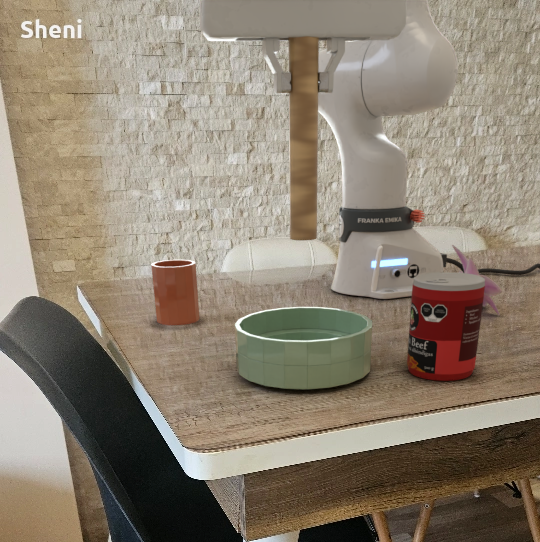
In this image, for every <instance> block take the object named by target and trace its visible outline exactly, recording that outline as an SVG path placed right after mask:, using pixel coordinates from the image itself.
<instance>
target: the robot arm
mask: <svg viewBox="0 0 540 542" xmlns="http://www.w3.org/2000/svg"><path fill="white" fill-rule="evenodd" d="M199 30H200V32H201V34H202V36H204V38H205V39H206V40H207V41H208V42H262V43H261V46H262V56H263V58H264V60H265V62H266V64H267V66H268V68H269V69H270V72H271V73H272V74H273V92H274V95H284V94H285V95H286V94H288V95H289V93H291V84H290V81H291V72H289V71H288V72H287V71H286V72H285V71H284V70H283V68H282V66H281V63H280V62H279V60H278V57H277V56H276V54H277V53H279V52H280V49H281V47H280V46H281V42H289V37H304V36H310V37H319V42H325V41H326V48H325V49H322V50H319V72H318V114H320V115H321V116H322V118H324V119H325V121H326V122H327V124H328V125H329V127H330V128H331V131H332V133H333V136H334V138H335V140H336V144H337V147H338V151H339V155H340V164H341V206H340V207H339V211H338V218H337V236H338V240H339V244H338V255H337V260H336V267H335V271H334V276H333V279H332V282H331V285H330V289H331V290H332V291H333V292H336V293H339V294H343V295H350V296H356V297H357V296H358V297H368V298H373V299H379V300H388V299H398V298H406V297H412V287H413V281H414V277H416V276H418V275H421V274H426V273H436V272H445V270H444V268H446V267H447V263H448V264H452V265H453V266H456V267H457V268H458V269H460V271H463V273H464V268H463V265H462V263H461V261H458V260H456V259H453V258H449V257H448V254H447V253H442V252H440V251H439V250H438V249H437V248H436V247H435V246H434V245H433V244H432V243H431V242H430V241H428V240H427V239H426V238H425V237H424V236H423V235H422V234H420V233H419V232H418V231H417V230H416V229H415V228H414V226H415V223H418V224H419V223H422V222H423V220H425V217H426V214H425V212H424V211H423V210H421V209H418V208H417V209H416V208H415V209H412V208H410V207H409V206H407V205H406V200H407V199H406V197H407V183H408V171H409V170H408V168H409V163H408V158H407V156H406V154H405V152H404V151H403V150H402V148H401V147H400V146H398V145H397V144H395V143H394V142H392V141H391V140H390V139H388V137H387V135H386V133H385V131H384V128H383V121H382V119H383V117H394V116H395V117H397V116H398V117H399V116H400V117H401V116H415V115H419V114H423V113H427V112H429V111H430V112H431V111H433V110H436V109H440V108H441V107H443V106H444V105H445V104H446V103H447V102H448V100H449V98H450V97H451V95H452V94H453V91H454V89H455V87H456V85H457V80H458V74H459V61H458V56H457V54H456V50H455V48H454V46H453V45H452V43H451V42H450V41H449V39H448V38H447V37H446V36H445V35H444V34H443V33H442V32H441V31H440V30H439V28H438V27H437V25H436V24H435V22H434V19H433V17H432V14H431V11H430V6H429V0H199ZM477 269H478V268H477ZM536 269H539V270H540V263H535V264H534V265H532V266H530V267H529V268H527V269H522V270H514V269H513V270H512V269H502V268H501V269H500V268H489V267H488V268H487V267H486V268H485V267H483V268H479V269H478V272H479V274H500V275H508V276H509V275H512V276H525V275H528V274H530V273H532V272H534V271H535V270H536Z"/></svg>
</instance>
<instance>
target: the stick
mask: <svg viewBox="0 0 540 542" xmlns="http://www.w3.org/2000/svg"><path fill="white" fill-rule="evenodd" d="M319 47H320V41H319V37H310V36H304V37H289V41H288V72H291V81H290V84H291V93H288V150H289V152H288V155H289V157H288V158H289V162H288V163H289V169H288V170H289V239H290V240H292V241H313V240H317V238H318V165H319V164H318V158H319V157H318V156H319V151H318V150H319V112H318V72H319V52H320V48H319Z"/></svg>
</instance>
